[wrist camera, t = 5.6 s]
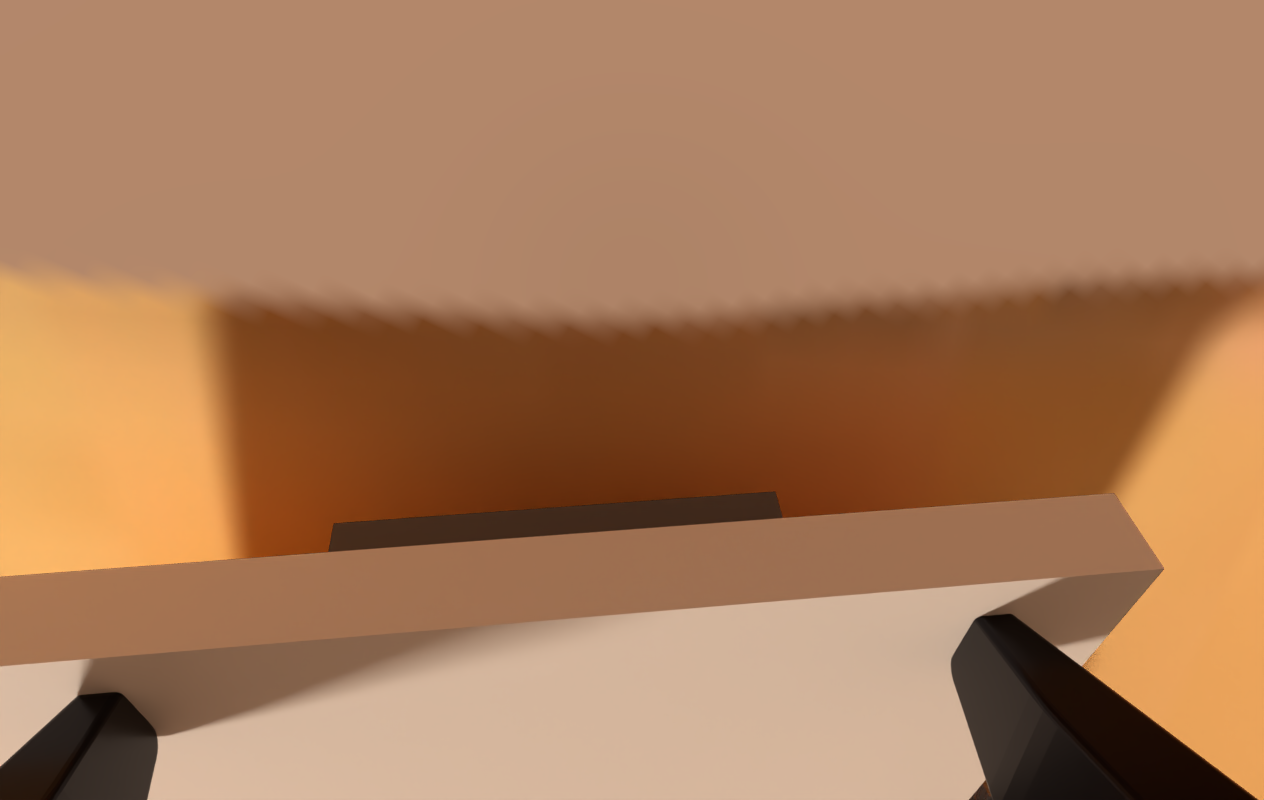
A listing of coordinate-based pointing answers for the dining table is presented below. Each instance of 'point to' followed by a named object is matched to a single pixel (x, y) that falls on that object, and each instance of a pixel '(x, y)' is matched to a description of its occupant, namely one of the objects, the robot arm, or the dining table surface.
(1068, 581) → the tailgate
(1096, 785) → the robot arm
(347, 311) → the dining table surface
